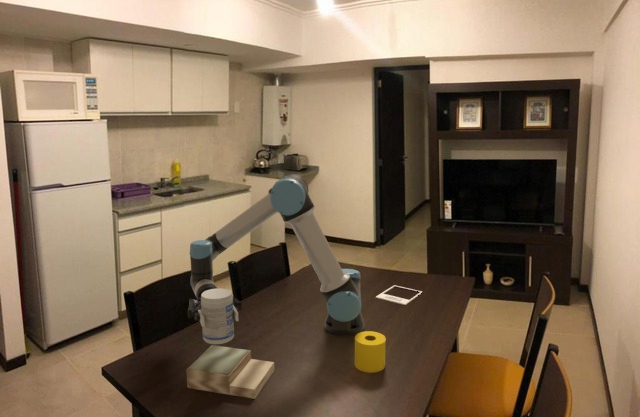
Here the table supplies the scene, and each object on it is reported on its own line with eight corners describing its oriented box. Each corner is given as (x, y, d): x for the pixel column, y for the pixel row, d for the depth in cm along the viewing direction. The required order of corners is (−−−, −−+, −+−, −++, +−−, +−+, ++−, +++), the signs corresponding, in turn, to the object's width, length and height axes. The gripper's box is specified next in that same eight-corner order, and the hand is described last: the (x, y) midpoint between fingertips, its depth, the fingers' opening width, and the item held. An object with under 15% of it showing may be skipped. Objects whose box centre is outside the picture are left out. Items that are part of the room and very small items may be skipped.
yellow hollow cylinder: (354, 356, 163) (354, 331, 161) (383, 357, 163) (384, 331, 161) (355, 372, 154) (355, 345, 152) (386, 372, 153) (387, 345, 151)
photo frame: (375, 296, 215) (394, 284, 229) (375, 298, 215) (394, 287, 230) (405, 303, 207) (422, 291, 221) (405, 306, 207) (422, 293, 221)
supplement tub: (234, 343, 145) (233, 298, 142) (202, 347, 142) (200, 300, 140) (233, 329, 154) (231, 286, 151) (202, 332, 152) (200, 288, 149)
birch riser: (274, 370, 154) (274, 352, 153) (255, 398, 139) (254, 379, 138) (212, 361, 160) (211, 344, 159) (187, 387, 145) (186, 368, 144)
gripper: (239, 299, 168) (256, 325, 147) (174, 309, 159) (182, 337, 139) (239, 279, 166) (256, 302, 146) (172, 287, 158) (181, 313, 138)
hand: (220, 319), depth 142 cm, fingers closed on supplement tub, 9 cm apart
